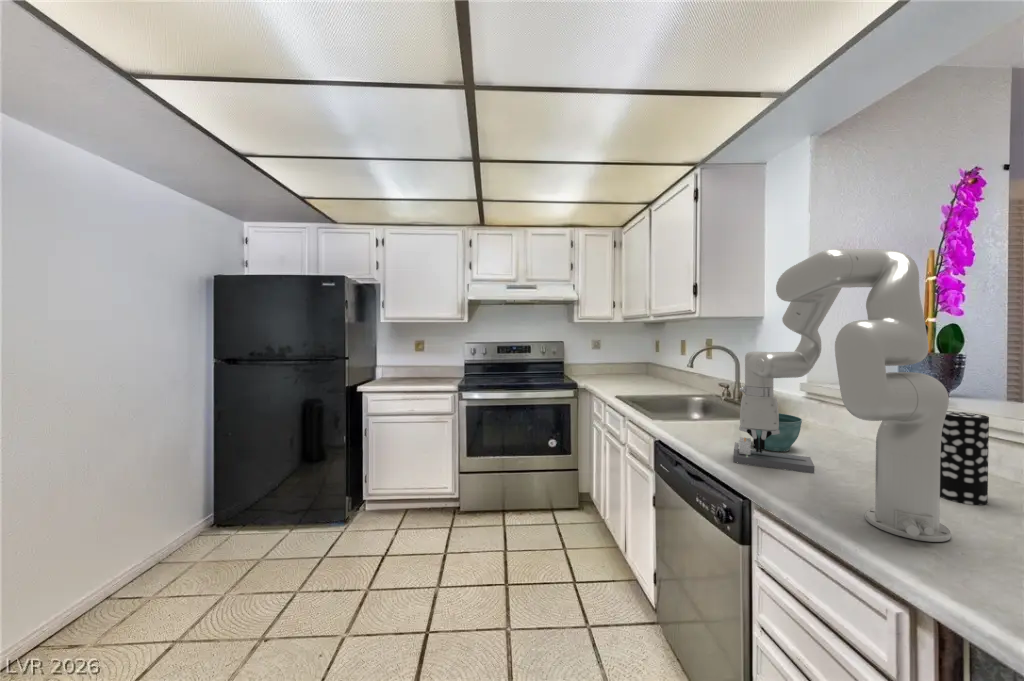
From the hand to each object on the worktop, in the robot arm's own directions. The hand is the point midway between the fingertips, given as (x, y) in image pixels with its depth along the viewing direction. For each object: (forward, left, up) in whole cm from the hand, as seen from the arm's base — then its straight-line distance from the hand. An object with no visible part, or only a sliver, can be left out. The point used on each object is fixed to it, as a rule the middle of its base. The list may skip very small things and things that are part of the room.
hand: (759, 451), depth 127 cm
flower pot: (+19, -4, -3) cm, 20 cm away
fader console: (0, -3, -3) cm, 5 cm away
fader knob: (0, +4, -1) cm, 4 cm away
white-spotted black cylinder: (-9, -41, -3) cm, 42 cm away
